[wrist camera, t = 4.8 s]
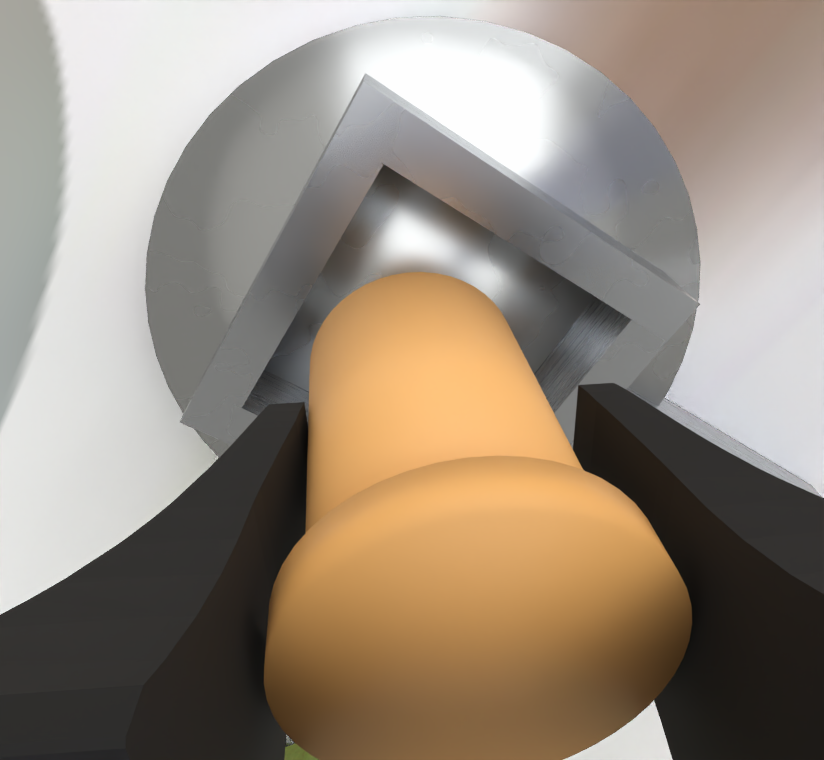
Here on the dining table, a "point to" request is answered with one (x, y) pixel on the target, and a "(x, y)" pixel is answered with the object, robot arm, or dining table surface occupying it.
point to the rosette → (424, 218)
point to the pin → (458, 552)
